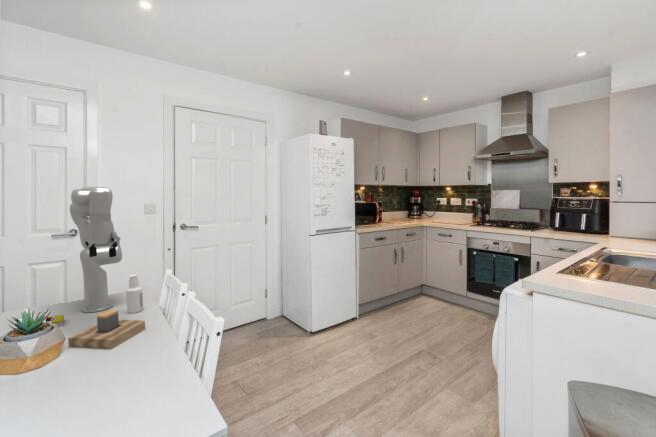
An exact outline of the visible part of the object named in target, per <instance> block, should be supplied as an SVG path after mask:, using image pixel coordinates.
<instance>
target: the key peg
mask: <svg viewBox="0 0 656 437" xmlns="http://www.w3.org/2000/svg"><path fill="white" fill-rule="evenodd" d="M119 320H120V319H119V310H115V309H113V310H107V311H105V312H102V313H100V314H97V315H96V324H97V326H98V333H108V332H110V331H112V330H114V329H116V328H118V327H119Z"/></svg>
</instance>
